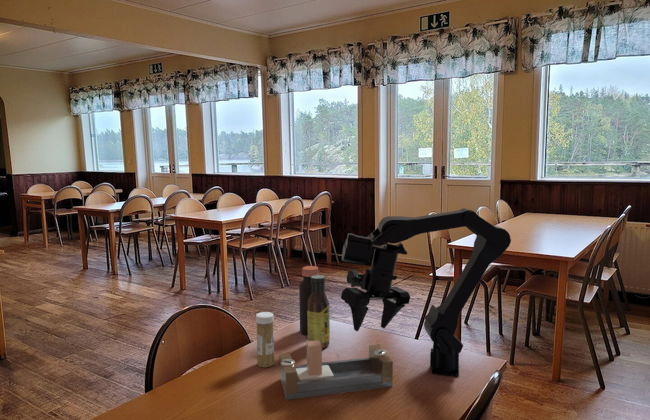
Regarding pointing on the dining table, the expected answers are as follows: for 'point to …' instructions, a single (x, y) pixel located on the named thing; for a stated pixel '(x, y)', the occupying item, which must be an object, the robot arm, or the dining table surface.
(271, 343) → the sprinkles bottle
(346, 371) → the rail
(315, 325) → the sauce bottle
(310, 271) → the vinegar
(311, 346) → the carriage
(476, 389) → the dining table surface
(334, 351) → the dining table surface
